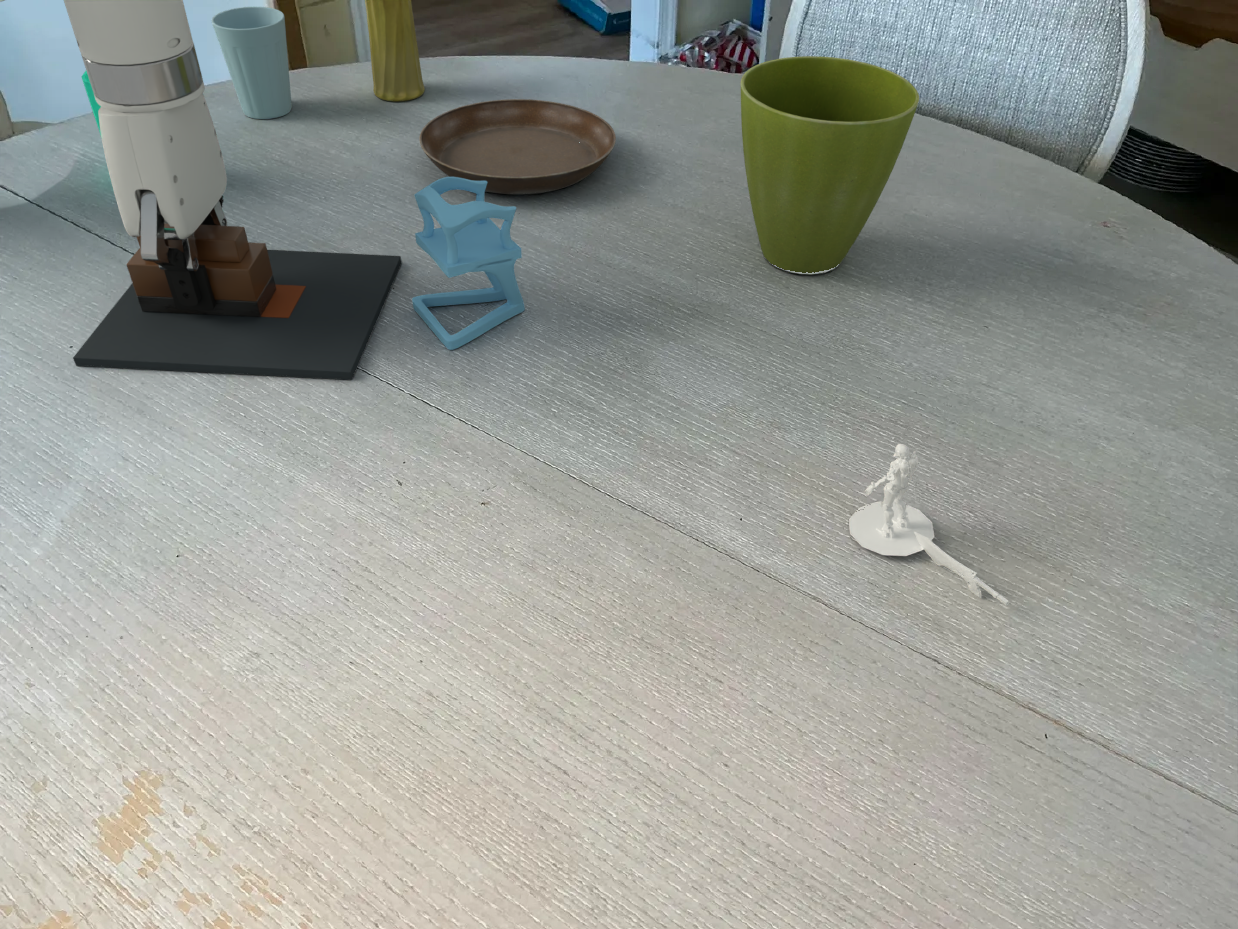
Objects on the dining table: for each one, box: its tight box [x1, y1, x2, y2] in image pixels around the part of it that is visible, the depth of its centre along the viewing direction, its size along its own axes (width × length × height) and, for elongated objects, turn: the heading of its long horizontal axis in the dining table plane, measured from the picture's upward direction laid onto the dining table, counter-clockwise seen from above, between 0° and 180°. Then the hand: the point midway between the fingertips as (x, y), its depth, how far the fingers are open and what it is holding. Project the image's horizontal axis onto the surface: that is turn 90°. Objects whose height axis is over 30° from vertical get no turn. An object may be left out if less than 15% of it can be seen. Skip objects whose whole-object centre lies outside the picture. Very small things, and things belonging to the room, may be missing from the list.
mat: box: [72, 249, 402, 381], centre depth 86 cm, size 22×18×1 cm
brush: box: [126, 224, 276, 317], centre depth 84 cm, size 10×4×6 cm, turn 87°
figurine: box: [848, 443, 1010, 607], centre depth 64 cm, size 6×12×8 cm, turn 38°
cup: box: [211, 6, 293, 120], centre depth 115 cm, size 8×8×10 cm
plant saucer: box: [418, 98, 617, 195], centre depth 108 cm, size 21×21×3 cm
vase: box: [364, 0, 426, 103], centre depth 118 cm, size 6×6×14 cm
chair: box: [411, 176, 526, 351], centre depth 82 cm, size 8×8×12 cm
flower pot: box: [740, 55, 920, 273], centre depth 90 cm, size 15×15×16 cm
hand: (207, 289), depth 85 cm, fingers closed on brush, 4 cm apart
